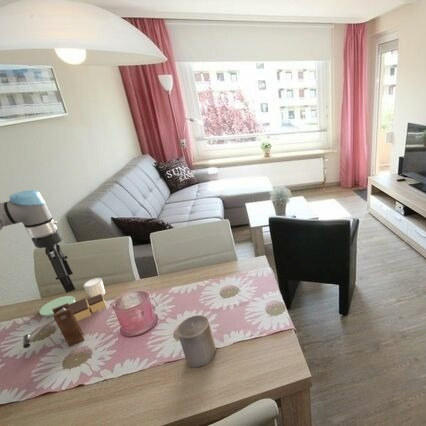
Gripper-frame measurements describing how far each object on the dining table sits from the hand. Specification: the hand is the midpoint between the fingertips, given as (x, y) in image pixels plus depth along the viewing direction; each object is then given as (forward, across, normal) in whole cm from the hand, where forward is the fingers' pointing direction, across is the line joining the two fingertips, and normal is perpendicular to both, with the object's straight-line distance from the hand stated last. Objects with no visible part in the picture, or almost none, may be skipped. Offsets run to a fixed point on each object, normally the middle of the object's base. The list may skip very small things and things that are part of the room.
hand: (69, 282), depth 111 cm
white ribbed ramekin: (+19, +17, -5) cm, 26 cm away
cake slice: (+19, +5, -4) cm, 20 cm away
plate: (+19, +19, +9) cm, 28 cm away
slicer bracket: (+19, -12, +4) cm, 22 cm away
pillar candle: (+20, -50, -27) cm, 60 cm away
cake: (+19, +5, +3) cm, 19 cm away
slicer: (+8, -12, +9) cm, 17 cm away
